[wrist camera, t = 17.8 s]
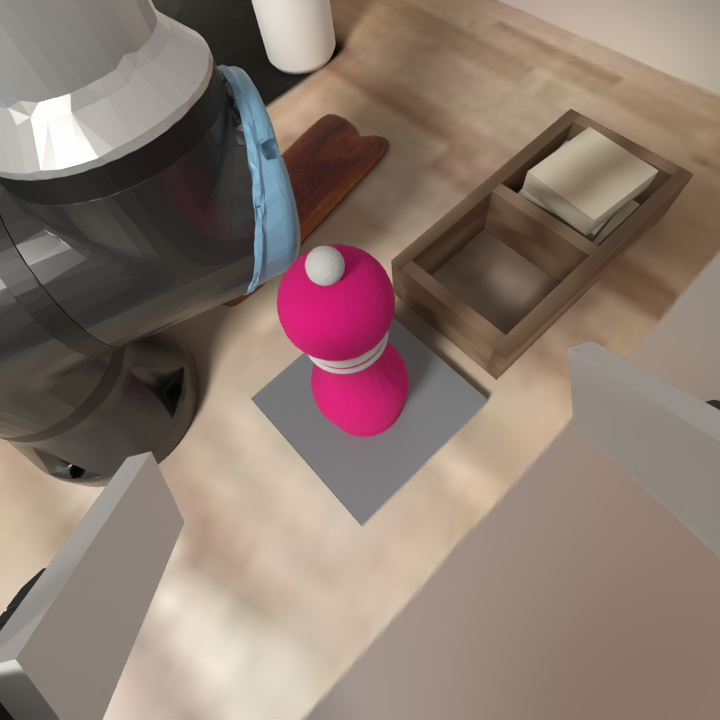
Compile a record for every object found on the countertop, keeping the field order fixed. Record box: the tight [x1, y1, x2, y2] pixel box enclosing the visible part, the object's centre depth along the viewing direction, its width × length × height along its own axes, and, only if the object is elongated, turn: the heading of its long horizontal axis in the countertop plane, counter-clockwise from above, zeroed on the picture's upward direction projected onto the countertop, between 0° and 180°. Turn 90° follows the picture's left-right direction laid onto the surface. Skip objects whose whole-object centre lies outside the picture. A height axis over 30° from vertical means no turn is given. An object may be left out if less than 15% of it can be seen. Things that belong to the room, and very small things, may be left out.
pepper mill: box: [277, 244, 409, 437], centre depth 29 cm, size 7×7×20 cm
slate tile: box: [251, 317, 488, 526], centre depth 38 cm, size 14×14×1 cm
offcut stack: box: [518, 127, 658, 246], centre depth 41 cm, size 9×9×6 cm
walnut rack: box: [391, 109, 694, 380], centre depth 41 cm, size 12×24×5 cm, turn 133°
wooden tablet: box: [222, 114, 389, 307], centre depth 48 cm, size 27×10×2 cm, turn 142°
